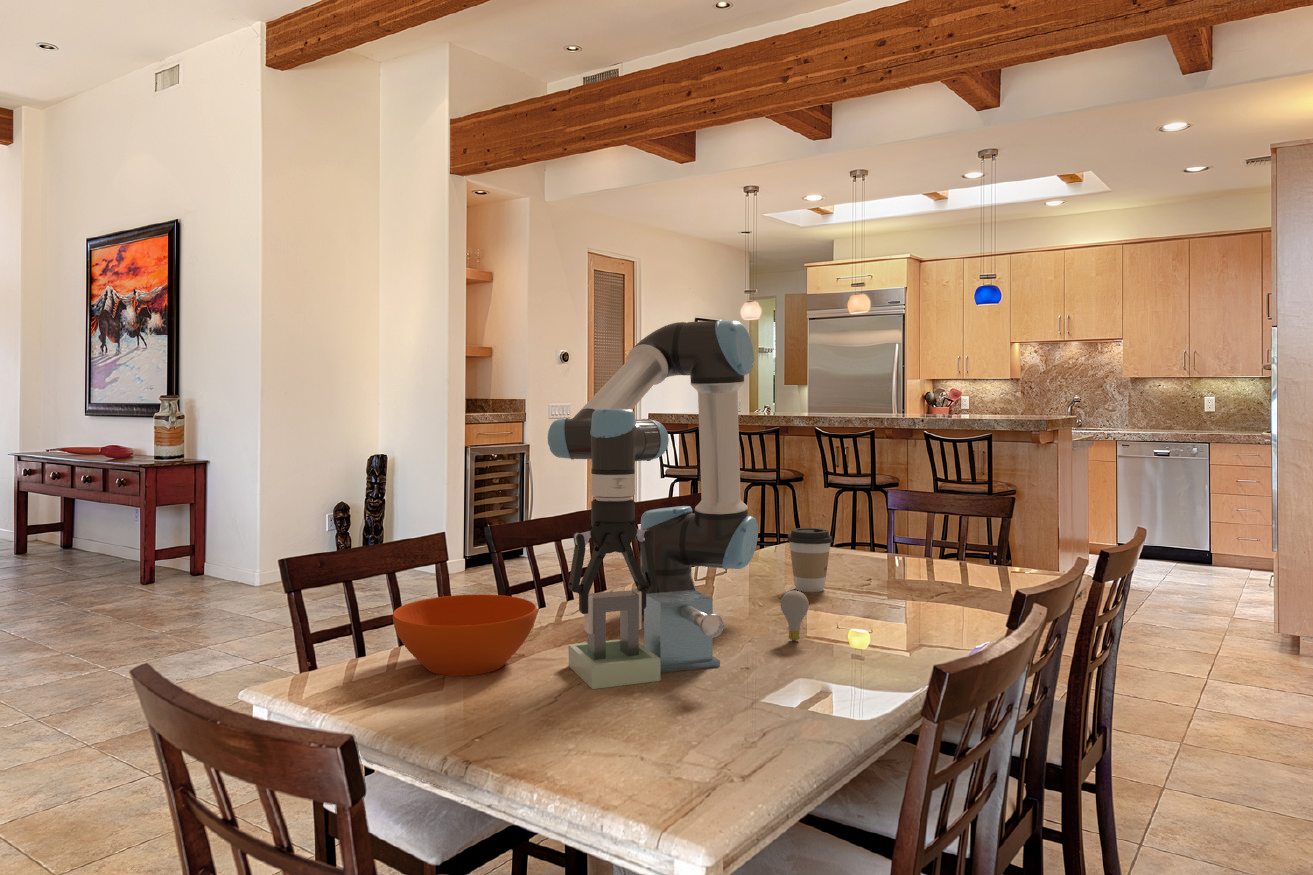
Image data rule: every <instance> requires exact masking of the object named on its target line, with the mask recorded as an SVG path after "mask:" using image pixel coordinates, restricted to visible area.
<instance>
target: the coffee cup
mask: <svg viewBox="0 0 1313 875" xmlns="http://www.w3.org/2000/svg"><path fill="white" fill-rule="evenodd" d="M787 542H789V550H790V558H791V566H792V574H793V576H792V577H793V585H794V586H795V591H797V590H798V591H799V592H801V591H802V593H803V592H804V593H820V592H823V591H824V589H825V586H826V579H827V571H828V565H829V564H828V563H829V557H830V550H831V549H830V548H831V543H833V542H834V541H833V537H832V535H830V533H829V530H827V529H824V528H816V527H799V528H792V529H791V531H790V534H788V535H787Z"/></svg>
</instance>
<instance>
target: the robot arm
mask: <svg viewBox="0 0 1313 875" xmlns="http://www.w3.org/2000/svg"><path fill="white" fill-rule="evenodd" d="M747 329H748V328H746V327H745V325H744V324H742V323H741V321H737V320H730V319H729V320H727V319H718V320H704V321H703V320H700V321H686V322H685V321H680V322H679V321H678V322H673V323H669V324H666V325H664V326H662V327H660V328H657V329H655V330H654V331H652V332H651V333H649V334H648V335H646V336H645V337H644V338H642V339H640V340H639V341H638V343H636V345H634V346H633V347H632V349H631V350H630V351H629V352H628V355H627V358H626V362H625V363H623V364H622V366H621V367H620V368H619V369H618V370H617V371H616V372H615V373H614V374H613V375H612V377H610V379H609V380H607V381H606V383H605V384H604V385H603V386H602V387H601V388H600V389H599V390H597V392H596V393H595V394H594V396H592V397H591V398H590V400H589V401H588V402H587V403H585V405H584V406H583V407H582V408H581V409H580V410H579V411H578V412H577V413H576V414H575V415H574V416H573V417H572V418H568V417H565V418H560V419H556V420H554V421H553V422H552V423H551V424H550V426H549V429H548V431H547V445H548V446H549V451H550V453H551V454H552V455H553V456H554V457H557V458H560V459H569V460H573V461H574V460H591V472H590V473H591V475H590V476H591V478H590V481H591V482H590V484H591V485H590V486H591V487H590V488H591V489H590V494H591V497H593V498H594V499H592V500H591V501H590V506H591V507H590V515H591V517H590V520H591V521H590V522H591V523H590V527H589V530H587V531H584V532H574V533H573V534H572V538H573V543H574V544H573V545H574V550H573V554H572V561H571V568H570V573H569V580H568V583H567V584H568V585H567V587H568V588H567V589H569V590H570V591H571V592H573V593H576V594H578V610H579V613H580V614H582V615H584V620H583V621H584V624H583V625H584V631H585V632H586V633H587V635H588V634H593V595H592V594H591V593H590V591H591V589H592V588H593V587H592V586H593V583H594V581H595V579H596V576H597V575H598V574H597V573H598V572H599V570H600V567H601V566H602V562H603V560H604V559H605V558H606V554H613V553H619V554H620V553H621V555H622V556H623V558H624V561H625V564H626V566H627V567H628V570H629V572H630V575H631V577H632V579H633V582H634V584H635V587H636V588H632V590H631V591H633V592H635V593H637V594H638V595H639V630H642V615H644V609H645V608H646V594H650V593H663V592H675V591H687V590H696V591H697V588H696V586H695V582H694V579H693V576H692V574H693V573H692V566H694V567H702V568H703V567H704V568H716V569H717V568H718V569H723V570H731V569H732V570H741V569H744V568H746V567H747V566H748V565H749V563H751V561H752V559H753V556H754V554H755V552H756V549H757V548H756V547H757V543H758V538H759V524H758V521H757V519H756V518H755V517H754V516H752V515H749V511H748V510H749V508H748V507H749V506H748V505H747V504H746V503H744V501H743V500H742V498H741V497H742V496H741V470H740V469H741V468H740V466H741V465H740V435H739V434H740V433H739V432H740V431H739V430H740V428H739V396H738V395H739V394H738V392H739V390H740V388H741V387H742V386H743V385H744V383H745V376H746V375H749V374H750V373H751V372H752V369H753V368H754V367H753V366H754V364H753V363H754V361H755V360H754V359H755V358H754V346H753V342H752V339H751V336H750V333H749V332H748V330H747ZM675 376H690V386H692V387H693V389H695V390H696V392H697V402H698V403H697V404H698V406H697V408H698V430H699V431H698V433H699V460H700V463H699V464H700V466H699V468H700V490H701V491H700V492H701V497H700V498H701V500H700V501H699V503H698V504H697V505H696V506H694V507H695V508H694V513H693V508H692V506H690V505H681V506H679V505H678V506H672V507H662V508H656V509H649V510H646V511H644V513H642V515H641V518H640V528H637V526H636V523H635V521H636V501H635V499H632V497H635V494H636V489H635V488H636V485H635V484H636V482H635V480H636V476H635V475H636V469H635V468H636V462H643V461H646V462H651V461H653V460H656V459H659V458H660V457H662V456H663V455H664V454H665V453H666V450H667V449H668V446H669V441H670V439H669V434H668V430H667V429H666V427H665V426H664V425H663V423H661V422H659V421H657V420H654V419H651V418H641V419H636V415H635V412H634V411H633V409H634V408H635V407H636V406H637V405H638V403H639V402H640V401H641V400H642V399H643V398H644V397H645V395H646V394H647V393H648V392H649V391H650V389H652V387H653V386H655V385H656V386H657V385H659V384H661V383H662V382H664V381H665V379H666V378H669V377H675ZM636 537H637V538H636ZM635 538H636V539H637V541H638V542H639V548H640V566H639V564H638V561H637V559H636V556H635V552H634V550H633V549H634V548H632V545H631V544H632V542H633V541H634V539H635ZM590 539H591V541H592V542H593V544H594V547H593V549H592V551H591V556H590V559H589V561H588V564H587V567H586V568H585V572H584V573H583V567H584V560H585V554H586V546H587V545H588V543H589V540H590ZM582 573H583V576H582Z"/></svg>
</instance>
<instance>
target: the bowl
mask: <svg viewBox="0 0 1313 875" xmlns="http://www.w3.org/2000/svg"><path fill="white" fill-rule="evenodd" d="M537 608H538V607H537V605H536V604H535V603H534V602H532V601H531V600H528V599H525V598H521V597H517V596H516V597H515V596H510V595H502V594H501V595H500V594H457V595H445V596H438V597H437V596H436V597H431V598H426V599H420V600H416V601H412V602H409V603H406V604H403V605H401V606H399V607H398V608H397V607H396V609H394V611H393V613H392V621H393V622H392V623H393V627H394V629H395V632H396V634H397V636H398V638H399V640H400V641H401V643H402V644H403V646H404V647H405V648H406V650H407V651H408V652H409V653H410V654H411V655H412V656H413V658H415V659H416V660H417V661H418V662H420V663H421V664H422V665H423V666H424V667H425V668H426V669H427V670H428V671H429V672H430V673H433V674H437V675H441V676H448V677H449V676H455V677H461V676H462V677H464V676H466V677H467V676H476V675H482V674H486V673H491V672H494V671H497V670H499V669H501V668H502V667H504V666H505V665H506V663H507V662H508V661H509V659H510V658H512V657H513V655H514V654H516V652H517V651H518V650H520V648H521V647H522V645H523V644H524V643H525V641H526V640H527V638H528V637H529V635H530V632H531V631H532V629H533V627H534V624H535V621H536V617H537V612H538V609H537Z"/></svg>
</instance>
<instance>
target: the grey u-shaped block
mask: <svg viewBox="0 0 1313 875" xmlns="http://www.w3.org/2000/svg"><path fill="white" fill-rule="evenodd" d="M590 594H592V595H593V634H588V633H587V643H588V655H589V656H590V657H592V658H593V659H594V660H600V659H606V641H607V638H606V637H607V635H606V634H607V632H606V631H607V629H606V627H607V622H606V621H607V620H606V619H607V616H606V615H607V613H610V612H620V613H619V614H620V617H619V618H620V619H619V621H620V623H619V625H620V626H619V627H620V628H619V631H620V632H619V636H620V638H619V640H620V651H621V652H623V653H624V654H625V655H627V656H637V655H639V644H640V629H639V595H638V594H637V593H635V592H633V591H632V590H631V589H630V590H620V591H607V592H606V591H605V592H604V591H603V592H594V593H593V592H592V593H590Z"/></svg>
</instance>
